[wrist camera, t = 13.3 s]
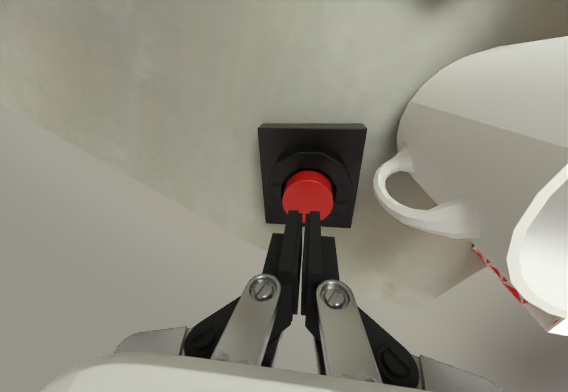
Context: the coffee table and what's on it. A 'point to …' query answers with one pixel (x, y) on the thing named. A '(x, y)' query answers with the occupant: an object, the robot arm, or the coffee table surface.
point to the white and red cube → (543, 318)
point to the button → (308, 194)
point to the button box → (312, 165)
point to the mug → (494, 163)
